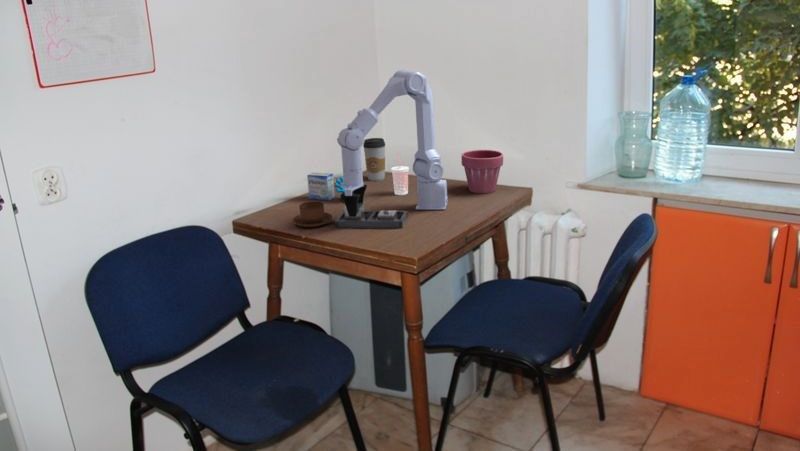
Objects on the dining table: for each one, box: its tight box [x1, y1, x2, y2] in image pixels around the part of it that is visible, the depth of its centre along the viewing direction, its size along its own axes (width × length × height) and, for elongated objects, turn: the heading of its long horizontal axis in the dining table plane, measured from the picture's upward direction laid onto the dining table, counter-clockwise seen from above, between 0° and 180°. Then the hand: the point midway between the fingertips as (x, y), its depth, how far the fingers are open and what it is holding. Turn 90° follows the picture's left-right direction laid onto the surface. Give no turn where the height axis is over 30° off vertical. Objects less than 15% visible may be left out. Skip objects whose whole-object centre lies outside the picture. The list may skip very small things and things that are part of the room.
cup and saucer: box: [292, 200, 333, 228], centre depth 207 cm, size 12×12×6 cm
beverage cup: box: [390, 153, 410, 196], centre depth 233 cm, size 6×6×14 cm
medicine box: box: [307, 172, 335, 201], centre depth 233 cm, size 8×4×9 cm, turn 68°
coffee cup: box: [362, 137, 386, 182], centre depth 254 cm, size 8×8×15 cm
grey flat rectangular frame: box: [334, 210, 409, 229], centre depth 206 cm, size 20×11×2 cm, turn 80°
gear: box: [334, 176, 345, 200], centre depth 232 cm, size 11×6×10 cm
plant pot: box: [461, 149, 504, 194], centre depth 232 cm, size 14×14×13 cm
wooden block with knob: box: [377, 209, 398, 221], centre depth 204 cm, size 5×5×4 cm
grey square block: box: [343, 202, 366, 221], centre depth 206 cm, size 5×5×6 cm
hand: (355, 212), depth 206 cm, fingers open, 7 cm apart
